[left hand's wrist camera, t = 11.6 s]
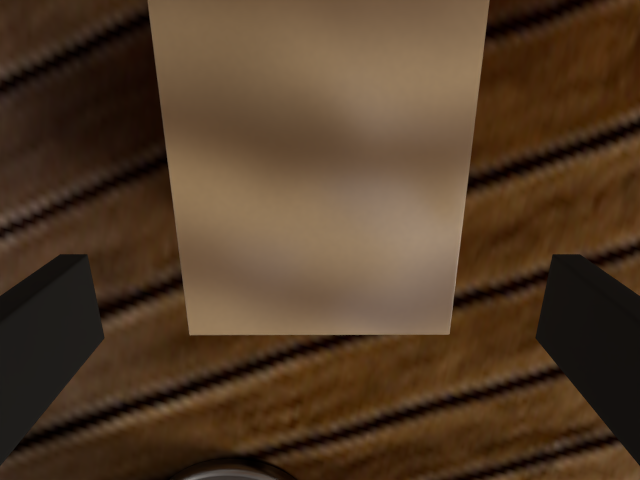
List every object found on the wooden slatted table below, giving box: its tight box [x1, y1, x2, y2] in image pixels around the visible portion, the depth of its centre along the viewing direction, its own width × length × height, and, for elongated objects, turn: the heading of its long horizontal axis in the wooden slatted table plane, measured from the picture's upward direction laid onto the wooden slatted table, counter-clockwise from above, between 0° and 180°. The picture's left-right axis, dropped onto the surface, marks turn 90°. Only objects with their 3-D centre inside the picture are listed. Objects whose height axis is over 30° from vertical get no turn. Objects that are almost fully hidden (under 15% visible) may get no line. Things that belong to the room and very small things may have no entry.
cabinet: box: [147, 0, 489, 335], centre depth 22 cm, size 17×12×12 cm
